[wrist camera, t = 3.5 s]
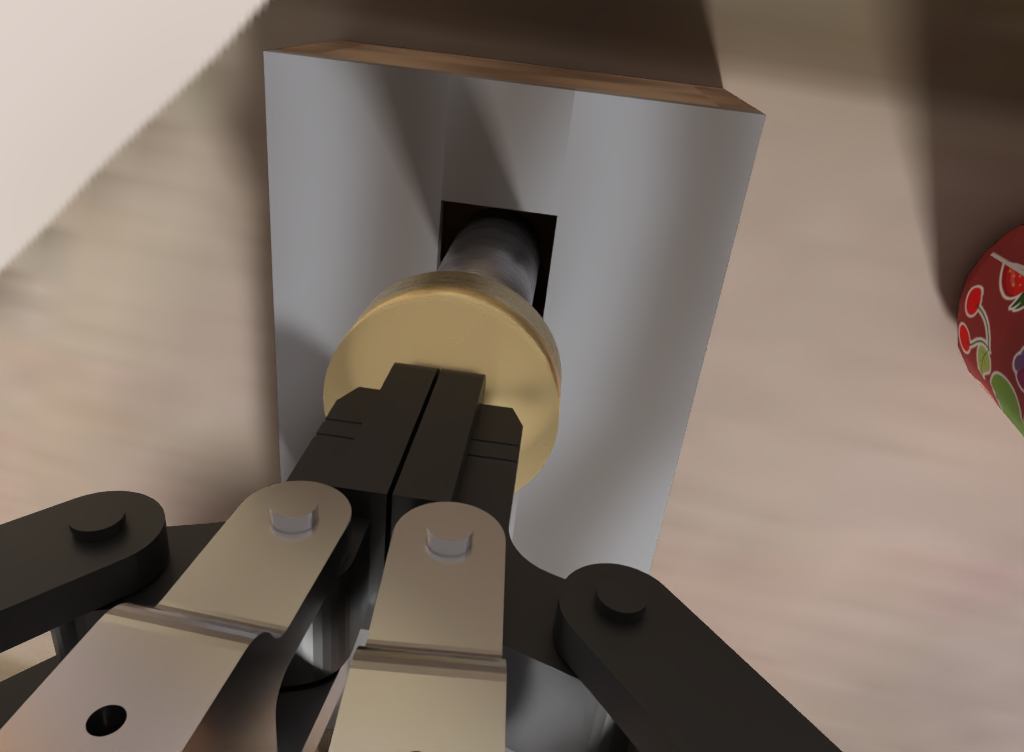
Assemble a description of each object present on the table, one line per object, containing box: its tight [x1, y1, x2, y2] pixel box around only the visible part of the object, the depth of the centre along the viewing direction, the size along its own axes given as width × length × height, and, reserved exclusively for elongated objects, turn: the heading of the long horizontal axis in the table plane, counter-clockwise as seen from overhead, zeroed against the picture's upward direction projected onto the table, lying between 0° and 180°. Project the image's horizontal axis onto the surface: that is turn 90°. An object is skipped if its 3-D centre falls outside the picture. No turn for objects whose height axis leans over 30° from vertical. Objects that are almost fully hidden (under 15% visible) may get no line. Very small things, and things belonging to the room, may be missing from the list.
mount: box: [263, 40, 766, 752], centre depth 26 cm, size 12×24×6 cm, turn 174°
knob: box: [323, 208, 562, 493], centre depth 17 cm, size 4×4×9 cm
